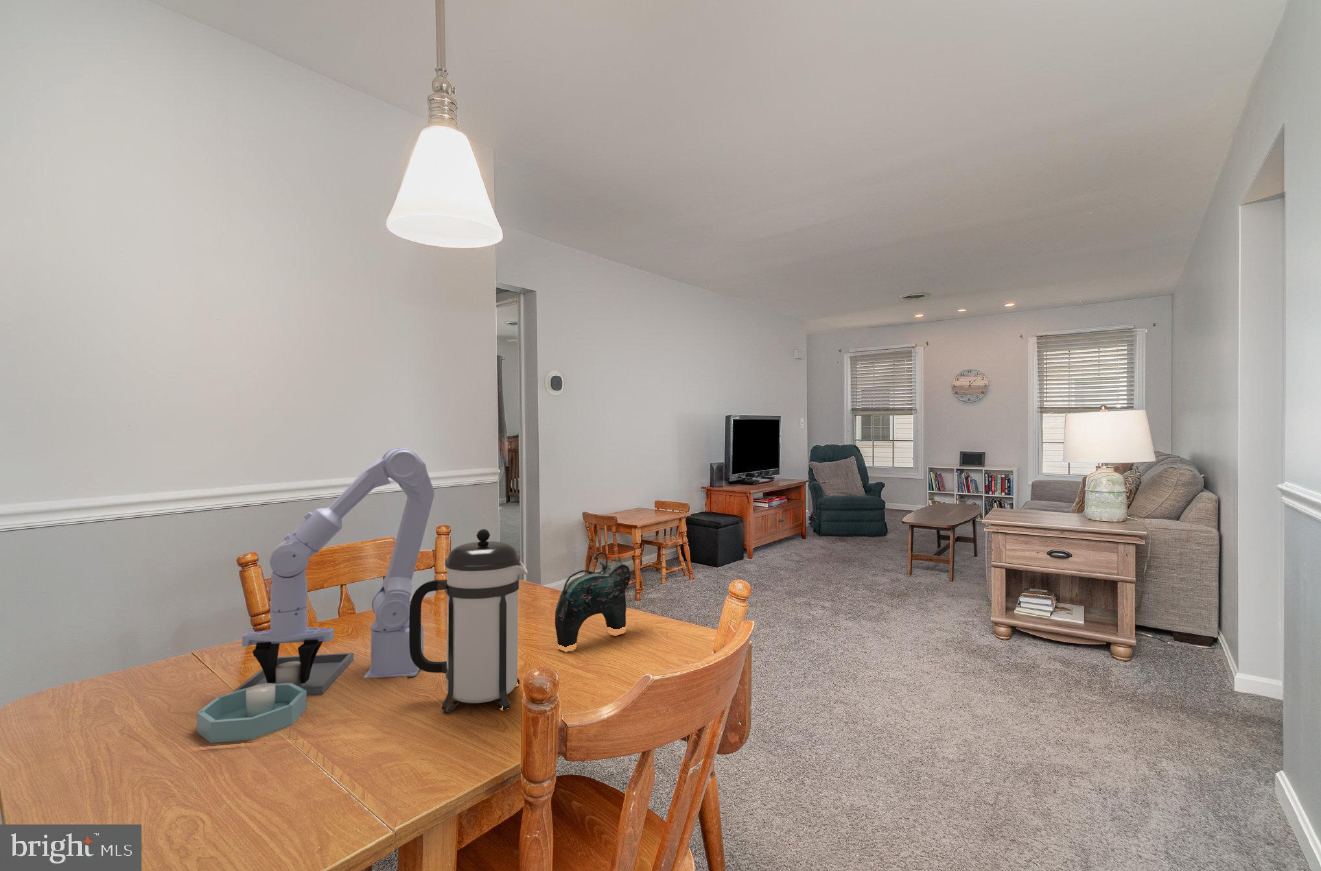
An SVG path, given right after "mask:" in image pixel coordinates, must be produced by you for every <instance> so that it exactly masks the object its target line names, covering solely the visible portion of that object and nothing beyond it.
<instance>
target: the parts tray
mask: <svg viewBox="0 0 1321 871" xmlns="http://www.w3.org/2000/svg"><path fill="white" fill-rule="evenodd" d="M354 654H355V653H354V652H340V653H338V652H337V653H324V654H316V657H315V659H314V662H313V665H312V668H311V672H310V677H309V680H308V681H307V682H306V683H302V685H301V686H298V687H300V688H302V689H304V690H306V691H307V696H320V695H323V694H324V693H326V691H327V690H328V689H329V688H330V687H331V686H332V685H333V684H334V682H335V681H336V680H337V679H338V678H339V677H340V676H341V675H342V673H343V672H345V671H346V669H347V668H348V667H349V666H350V665H351V663H352V662H354V657H355V656H354ZM291 661H299V662H300V657H299V655H291V656H290V655H287V656H278V659H277V666H278V665H280V664H282V663H286V662H291ZM265 683H267V681H266V677H265V674H264V672H263V669H262V668H260V669H259V670H258V671H257V672H255V674H253V675H252V676H251V677H249V678H248V679H247V680H246V681H244V682H243V683H241V684H240V685H239V686H238V687H237V688H235V689H233V691H232V692H235V691H238V690H242V689H245V688H248V687H252V686H255V685H259V684H265ZM274 684H276V682H275V683H274Z"/></svg>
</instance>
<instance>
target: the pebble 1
mask: <svg viewBox="0 0 1321 871" xmlns="http://www.w3.org/2000/svg"><path fill="white" fill-rule="evenodd" d="M272 710H275V684H272V683H265V684H259V685H255V686H252V687H250V688H248V689H247V690H246V717H247V718H249V717H255V716H257V715H260V714H263V713H266V712H269V711H272Z"/></svg>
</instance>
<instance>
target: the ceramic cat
mask: <svg viewBox="0 0 1321 871" xmlns="http://www.w3.org/2000/svg"><path fill="white" fill-rule="evenodd" d="M599 555H604V556H605V558H606V560H605V562H603V561H599V564H600V565H601V566H602V567H601V569H600V571H591V570H586V569H582V570H578V571H575V572H574V573H572V574H571V575H569V576H568V577H567V579H566V580H565V583H564V586H563V590H561V592H560V595H559V599H558V601H557V603H556V607H555V612H554V626H555V633H556V640H557V645H558V644H559V645H562V646H564V647H567V646H569V645H573V644H575V643H577V642H578V636H579V631H580V629H581V627H582V625H583V623H584V622H585V621H586V620H587V619H588V618H591V617H592V616H595V615H598V614H602V616H603V617H604V620H605V624H606V628H607V627H611V628H613V629H620V628H622V627H625V626H627V617H626V616H627V615H626V614H627V613H626V612H627V599H626V598H627V597H626V589H627V587H628V585H629V584H630V581H631V571H630V567H629V566H628V565H627V564H624V563H623V562H622V560H621V557H619V556H618V555H617V556H616V559H615V561H610V562H608V561H609V560H608V555H607V554H606V553H605V552H602V551H598V552H597V553H595V554H594V556H593V559H594V560H596V559H597V557H598V556H599ZM580 573H584V574H582V575H580V576H577V577H575V578H573V579H572V580H571V578H572V577H574V576H576V575H578V574H580ZM569 581H570V582H569Z"/></svg>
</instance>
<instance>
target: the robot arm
mask: <svg viewBox="0 0 1321 871" xmlns="http://www.w3.org/2000/svg"><path fill="white" fill-rule="evenodd" d="M390 479H392V480H393V481H394V482H396V483H397V484H398V485H399V487H400V489H401V490H402V491H403V493H404V494H405V495H406V502H405V506H404V508H403V513H402V517H401V521H400V524H399V528H398V531H397V534H396V539H395V543H394V546H393V549H392V553H391V557H390V560H389V564H388V567H387V568H388V569H387V572H386V574H385V576H384V577H383V580H382V584H381V587H380V588H379V589H378V591H377V592H376V593H375V595H374V596H373V598H372V600H371V609H372V611H373V613H374V615H375V619H374V621H373V622H372V624H371V625H370V668H369V669H368V671H367V672H366V673H365V675H363V679H374V678H375V679H376V678H388V677H391V678H392V677H402V676H406V677H408V678H410V677H416V676H417V675H418V673H419V671H420V669H419V668H418V667H417V666H416V665H415V664H414V663H413V661H412V659H411V656H410V649H409V613H410V603H411V596H412V590H413V589H412V587H413V585H412V583H413V577H414V573H415V569H416V565H417V563H418V558H419V554H420V550H421V546H422V543H423V539H424V535H425V531H426V528H427V524H428V520H429V516H430V514H431V513H430V512H431V509H432V505H433V501H434V498H435V489H434V486H433V484H432V481H431V478H430V476H429V472H428V470H427V466H426V463H425V461H424V460H423V459H422V458H421V457H420V455H418V453H416V452H415V451H414V450H411V449H409V448H401V447H395V448H391V449H389V450H387V451H386V452H385V453H384V454H383V456H382V458H381V457H380V458H378V459H376V460H374V462H373V463H371V464H370V465H369V466H367V467H366V468H365V469H364V470H362V472H361V473H360V474H359V475H358V476H357V477H356V478H355V479H354V480H353V481H352V482H351V484H349V485H348V486H347V488H346V489H345V490H344V491H343V492H341V494H340V495H339V496H338V497H337V498H336V499H335V500H334V501H333V502H332V504H330V505H329V506H328V507H323V508H322V507H321V508H316V509H315V510H314V511H313V512H311V511H308V512H307V513H306V514H305V515H304V519H305V520H303V521H302V523H300V525H298V526H297V527H296V528H295V530H293V532H292V533H290V534H289V533H287V534H285V535H284V536H283V540H285V541H283V542H281V543H279V544H278V545H277V546H275V547H274V549H273V551H272V553H271V556H270V559H269V565H270V568H271V570H272V573H271V575H270V576H271V577H270V579H271V584H270V601H269V602H270V605H269V606H270V609H269V611H270V615H269V616H270V620H269V626H270V627H269V628H270V629H268V630H261V631H253V632H251V631H249V632H246V633H245V634H243V635H242V638H241V641H242V642H241V647H242V648H243V647H244V648H245V647H249V646H254V645H255V648H254V649H253V650H252V656H253V657H254V658H255V659H256V660H257V663H259V666H260V667H261V669H263V672H264V674H265V677H266V681H267V683H272V684H274V683H275V682H276V666H277V659H278V657H279V650H280V644H291V643H302V644H300V646H299V647H297V652H298V656H299V657H300V665H301V669H300V682H301V683H306V682H307V681H308V680H309V677H310V672H311V668H312V665H313V662H314V659H315V657H316V655H318V652H319V650H320V648H321V646H322V644H323V642H324V643H329V642H331V641H332V640H333V639H334V638H335V631H334V630H335V628H334V627H327V628H326V627H314V626H313V627H311V626H309V627H308V579H306V578H307V576H306V575H307V574H306V570H307V567H308V565H309V561H310V560H309V559H310V557H312V556H315V555H317V554H318V553H319V552H320V550H322V549H323V548H324V547H325V546H326V545H327V544H328V543H329V542H330V541H331V540H332V539H333V538H334V537H335V536H336V535H337V534H338V533H339V532H340V531H341V529H342V528H343V523H342V522H343V520H342V519H343V518H344V517H345V516H347V514H348V513H349V512H350V511H352V510H353V508H355V506H357V504H359V503H360V502H361V501H362V500H363V499H364V498H365V497H366V496H367V495H368V494H370V493H371V492H372V491H373V490H374V489H376V488H378V487H382V486H387V485H389V484H391V483H392V482H391V481H390ZM424 635H425V633H424V627H423V624H421V651H422V654H423V655H424V656H425V654H424V652H425V651H424V650H425V648H424V645H425V644H424V640H425V639H424V638H425V637H424Z"/></svg>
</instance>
